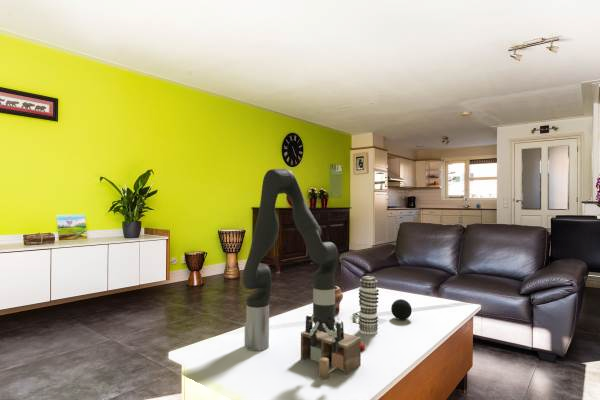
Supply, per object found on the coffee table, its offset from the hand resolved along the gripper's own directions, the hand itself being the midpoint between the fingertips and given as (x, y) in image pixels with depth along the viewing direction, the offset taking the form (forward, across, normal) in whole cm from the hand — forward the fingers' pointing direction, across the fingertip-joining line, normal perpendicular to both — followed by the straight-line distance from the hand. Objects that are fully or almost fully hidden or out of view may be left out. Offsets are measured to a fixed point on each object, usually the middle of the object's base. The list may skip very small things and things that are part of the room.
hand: (324, 349), depth 122 cm
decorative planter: (+9, -38, +59) cm, 71 cm away
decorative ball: (+9, -5, +75) cm, 76 cm away
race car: (+10, -6, +26) cm, 29 cm away
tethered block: (+10, 0, +6) cm, 11 cm away
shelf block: (+10, -10, +11) cm, 18 cm away
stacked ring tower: (+9, -10, +49) cm, 51 cm away
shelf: (+10, -5, +11) cm, 16 cm away
